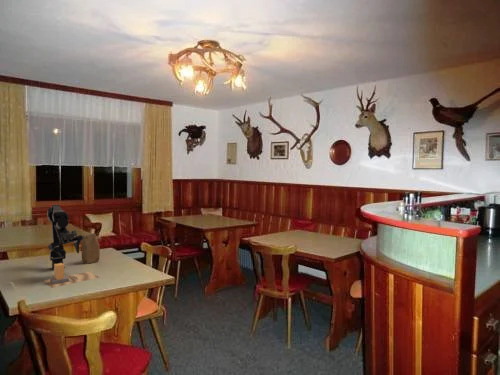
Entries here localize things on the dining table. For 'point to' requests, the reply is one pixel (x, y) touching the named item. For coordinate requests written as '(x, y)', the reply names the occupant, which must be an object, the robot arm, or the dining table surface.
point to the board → (74, 279)
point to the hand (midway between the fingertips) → (70, 255)
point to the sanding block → (59, 274)
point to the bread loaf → (90, 249)
